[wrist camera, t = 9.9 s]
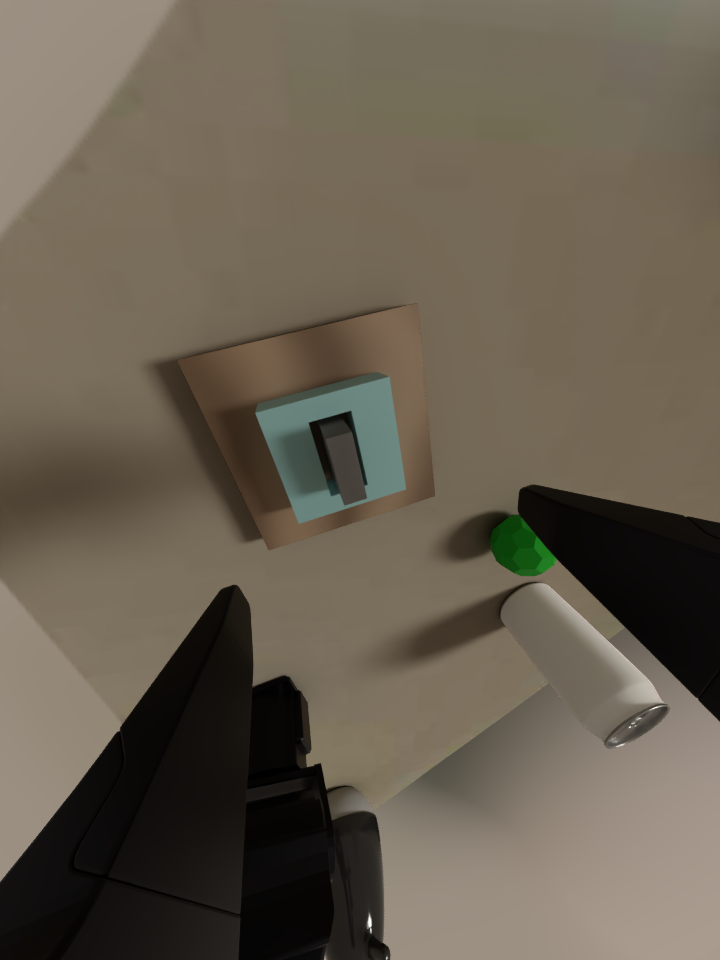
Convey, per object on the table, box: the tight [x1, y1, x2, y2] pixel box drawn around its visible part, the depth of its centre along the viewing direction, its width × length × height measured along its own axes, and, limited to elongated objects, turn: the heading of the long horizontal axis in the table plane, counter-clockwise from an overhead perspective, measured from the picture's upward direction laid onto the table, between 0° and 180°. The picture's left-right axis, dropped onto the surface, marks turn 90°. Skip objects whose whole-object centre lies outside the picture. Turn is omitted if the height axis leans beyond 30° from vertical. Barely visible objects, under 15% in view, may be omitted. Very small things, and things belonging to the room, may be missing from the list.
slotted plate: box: [255, 372, 406, 524], centre depth 16 cm, size 7×7×2 cm
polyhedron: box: [490, 515, 556, 576], centre depth 24 cm, size 5×5×5 cm
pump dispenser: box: [325, 787, 390, 960], centre depth 37 cm, size 10×10×15 cm
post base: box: [177, 303, 435, 550], centre depth 16 cm, size 12×12×6 cm
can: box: [500, 583, 670, 749], centre depth 28 cm, size 6×6×12 cm
